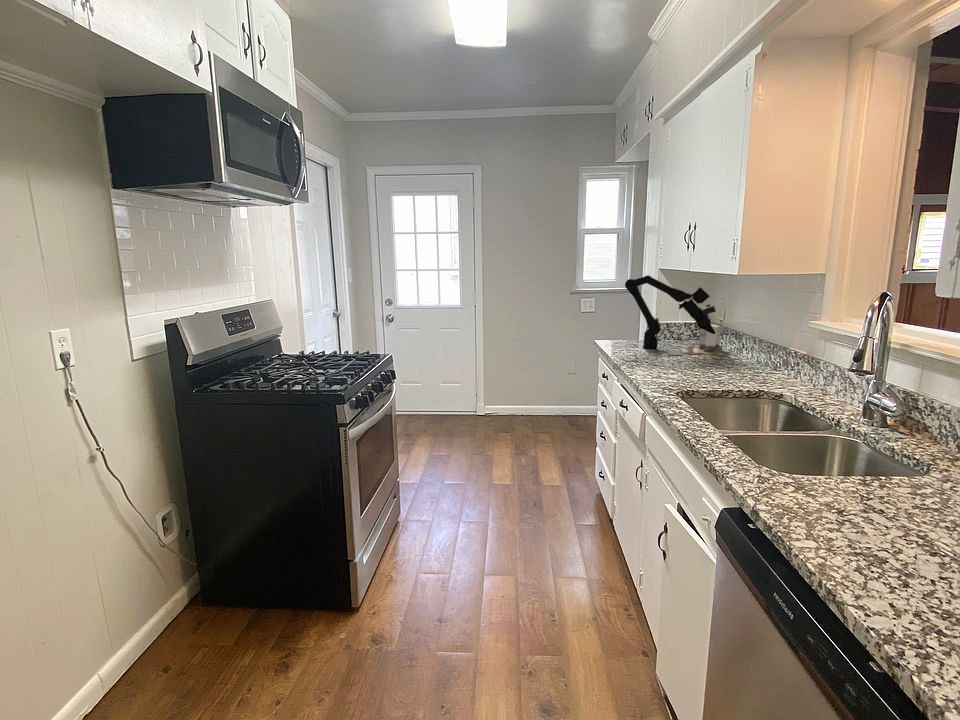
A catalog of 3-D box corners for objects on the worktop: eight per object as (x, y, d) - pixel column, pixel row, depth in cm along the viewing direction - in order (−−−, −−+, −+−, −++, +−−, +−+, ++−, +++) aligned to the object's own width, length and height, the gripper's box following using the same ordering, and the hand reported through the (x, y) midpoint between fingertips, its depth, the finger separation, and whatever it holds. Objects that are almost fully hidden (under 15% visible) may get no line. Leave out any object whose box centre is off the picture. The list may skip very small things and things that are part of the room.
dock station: (684, 353, 262) (685, 346, 261) (679, 349, 275) (679, 341, 274) (723, 355, 259) (724, 347, 258) (716, 350, 271) (717, 343, 271)
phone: (668, 356, 258) (668, 354, 257) (666, 352, 269) (666, 350, 269) (682, 357, 256) (682, 355, 256) (679, 352, 267) (679, 350, 267)
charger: (705, 345, 265) (707, 326, 263) (705, 344, 269) (707, 325, 267) (715, 346, 263) (717, 327, 261) (715, 345, 267) (717, 325, 265)
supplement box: (698, 347, 280) (700, 324, 277) (709, 347, 282) (711, 323, 279) (707, 350, 273) (710, 326, 270) (719, 349, 275) (721, 325, 272)
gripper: (707, 301, 254) (729, 324, 253) (706, 297, 271) (727, 320, 270) (688, 316, 259) (710, 339, 257) (688, 312, 276) (708, 334, 274)
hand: (714, 333), depth 264 cm, fingers closed on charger, 4 cm apart
